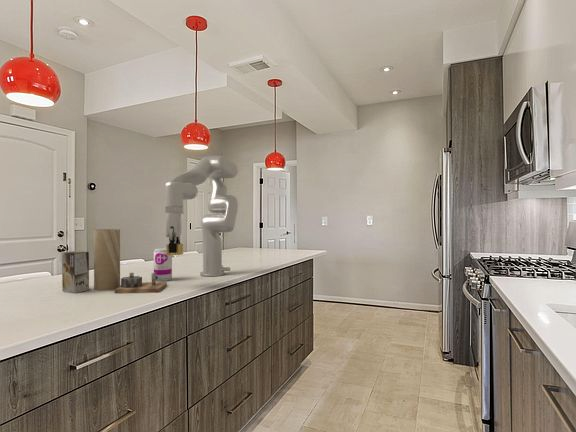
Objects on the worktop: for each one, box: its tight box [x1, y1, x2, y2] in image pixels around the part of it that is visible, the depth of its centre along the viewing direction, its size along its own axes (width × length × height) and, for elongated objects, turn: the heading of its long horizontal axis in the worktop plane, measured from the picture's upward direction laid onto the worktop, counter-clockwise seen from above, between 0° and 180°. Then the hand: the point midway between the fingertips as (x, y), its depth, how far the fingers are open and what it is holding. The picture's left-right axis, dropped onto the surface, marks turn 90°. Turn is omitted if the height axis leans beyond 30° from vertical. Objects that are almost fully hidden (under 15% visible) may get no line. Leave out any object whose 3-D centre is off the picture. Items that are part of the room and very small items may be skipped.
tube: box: [93, 228, 121, 292], centre depth 153 cm, size 10×10×25 cm
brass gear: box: [165, 242, 184, 256], centre depth 155 cm, size 7×7×4 cm
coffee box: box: [61, 250, 90, 294], centre depth 148 cm, size 9×6×16 cm
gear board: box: [113, 272, 167, 294], centre depth 151 cm, size 17×14×7 cm
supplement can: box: [153, 247, 173, 282], centre depth 172 cm, size 8×8×15 cm
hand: (174, 251), depth 155 cm, fingers closed on brass gear, 6 cm apart
